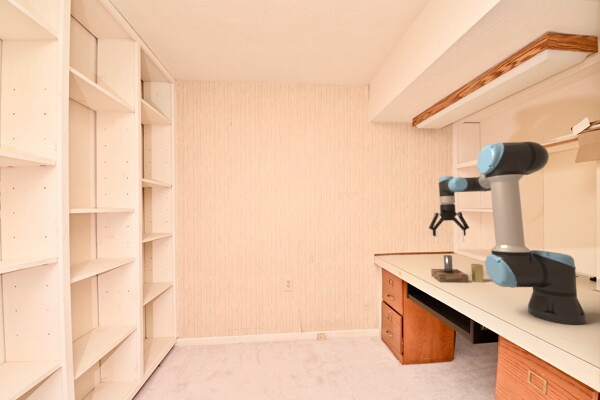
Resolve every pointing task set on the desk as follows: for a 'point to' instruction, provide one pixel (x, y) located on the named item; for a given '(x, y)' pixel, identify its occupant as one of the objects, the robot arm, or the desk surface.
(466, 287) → the desk surface
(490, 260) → the robot arm
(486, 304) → the desk surface
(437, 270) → the socket block
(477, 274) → the square bit
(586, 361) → the desk surface
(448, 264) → the round bit
